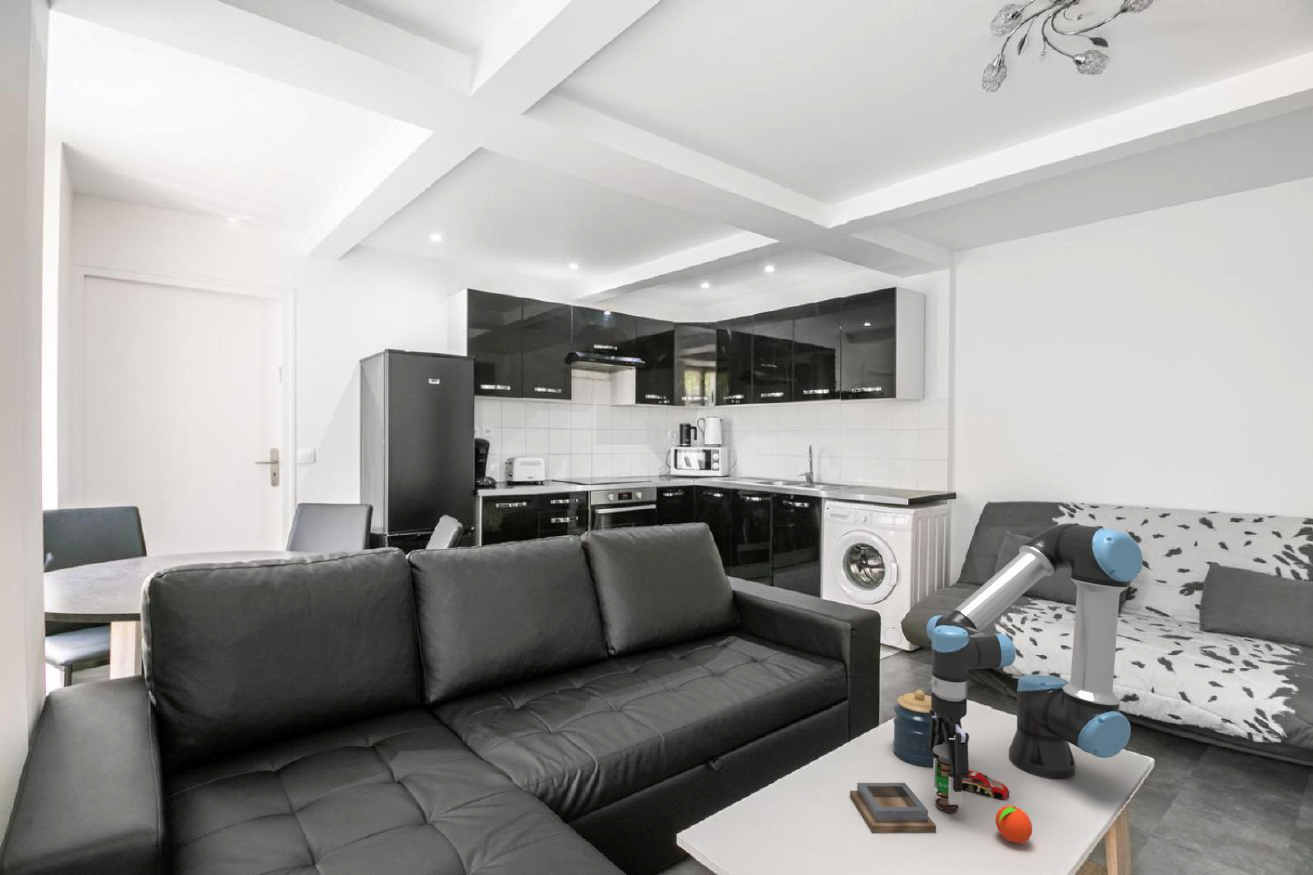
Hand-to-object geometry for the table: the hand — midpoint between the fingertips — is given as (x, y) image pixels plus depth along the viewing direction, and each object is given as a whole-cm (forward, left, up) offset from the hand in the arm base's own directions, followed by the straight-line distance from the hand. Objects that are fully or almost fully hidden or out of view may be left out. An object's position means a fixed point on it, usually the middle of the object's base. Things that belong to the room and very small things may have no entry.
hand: (947, 794), depth 148 cm
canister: (-5, -25, -3) cm, 26 cm away
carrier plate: (+14, +2, -3) cm, 15 cm away
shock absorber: (0, 0, -3) cm, 3 cm away
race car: (-12, -8, -4) cm, 15 cm away
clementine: (-8, +12, -3) cm, 15 cm away
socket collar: (+14, +2, -2) cm, 14 cm away
